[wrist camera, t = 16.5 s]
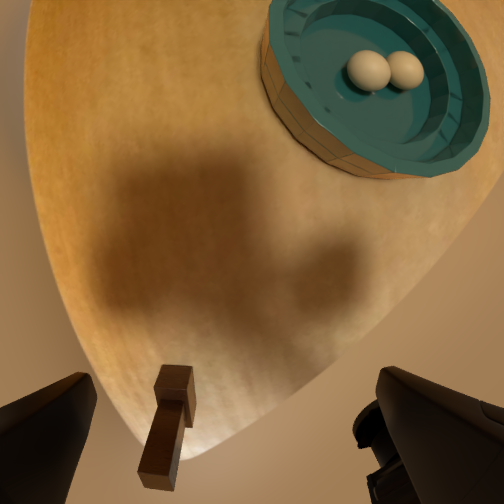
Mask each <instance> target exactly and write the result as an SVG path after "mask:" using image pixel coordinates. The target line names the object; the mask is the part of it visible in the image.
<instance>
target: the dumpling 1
mask: <svg viewBox="0 0 504 504" xmlns="http://www.w3.org/2000/svg"><path fill="white" fill-rule="evenodd" d="M347 73H348V76H349V78H350V80H351V81H352V82H353V84H355V85H356V86H357V87H358V88H360V89H362V90H365V91H378V90H381V89H383V88H384V87H385V86H386V85H387V84H388V82H389V80H390V76H391V70H390V67H389V64H388V62H387V61H386V60H385V58H384V57H383V56H381V55H380V54H378V53H376V52H374V51H370V50H363V51H359V52H357V53H355V54H353V55H352V56H351V58H350V59H349V61H348V64H347Z"/></svg>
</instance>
